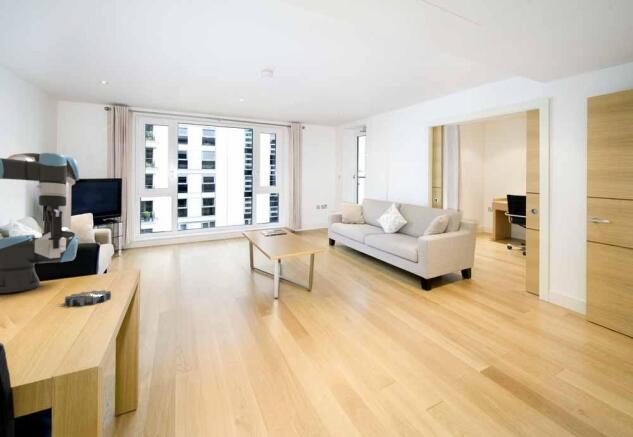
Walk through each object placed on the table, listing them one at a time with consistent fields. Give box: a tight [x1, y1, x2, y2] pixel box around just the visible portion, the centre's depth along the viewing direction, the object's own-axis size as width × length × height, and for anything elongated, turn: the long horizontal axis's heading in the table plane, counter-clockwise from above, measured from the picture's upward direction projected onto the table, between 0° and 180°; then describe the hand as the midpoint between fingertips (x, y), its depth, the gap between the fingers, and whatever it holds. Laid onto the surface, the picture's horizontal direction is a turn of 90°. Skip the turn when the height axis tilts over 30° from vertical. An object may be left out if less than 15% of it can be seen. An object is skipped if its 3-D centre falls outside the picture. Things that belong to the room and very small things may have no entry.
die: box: [35, 232, 66, 259], centre depth 106 cm, size 8×9×10 cm
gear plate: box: [64, 289, 112, 307], centre depth 114 cm, size 15×15×2 cm
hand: (52, 256), depth 106 cm, fingers closed on die, 7 cm apart
